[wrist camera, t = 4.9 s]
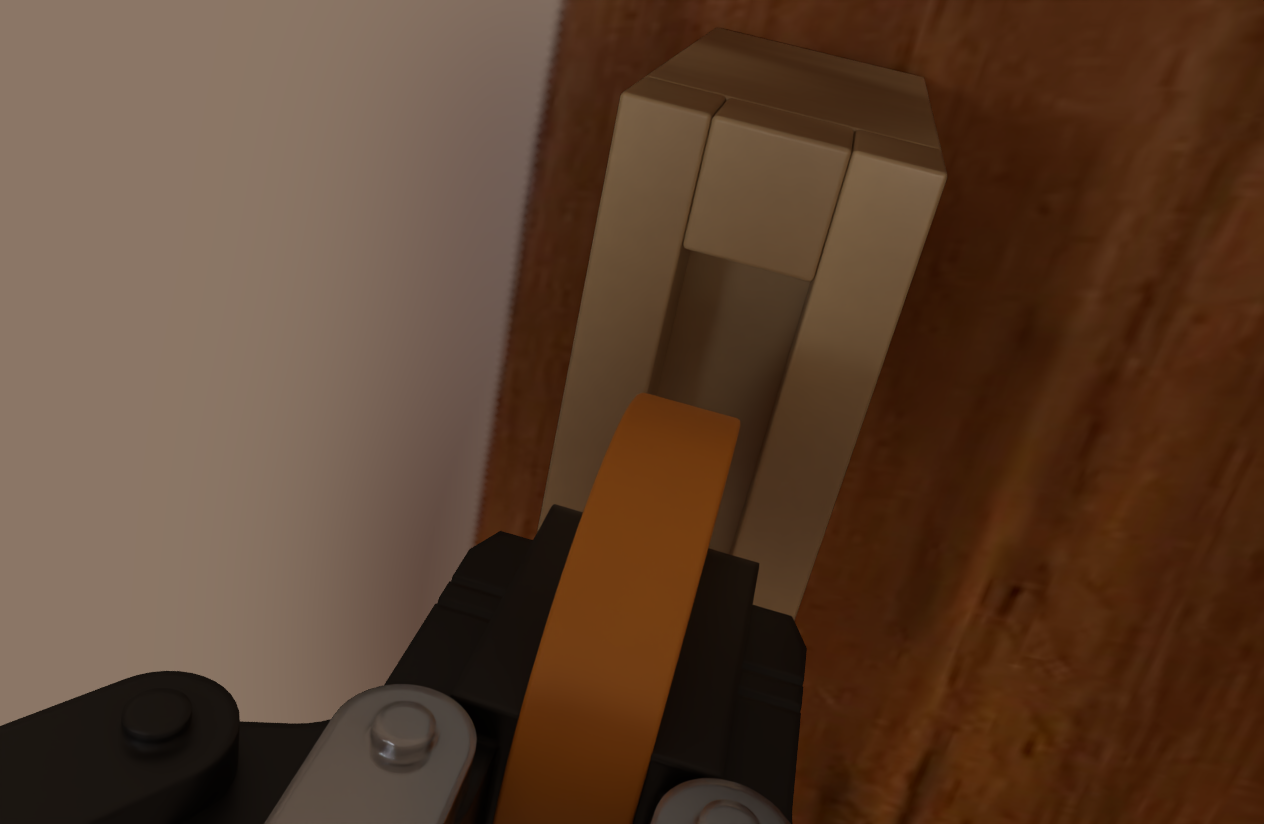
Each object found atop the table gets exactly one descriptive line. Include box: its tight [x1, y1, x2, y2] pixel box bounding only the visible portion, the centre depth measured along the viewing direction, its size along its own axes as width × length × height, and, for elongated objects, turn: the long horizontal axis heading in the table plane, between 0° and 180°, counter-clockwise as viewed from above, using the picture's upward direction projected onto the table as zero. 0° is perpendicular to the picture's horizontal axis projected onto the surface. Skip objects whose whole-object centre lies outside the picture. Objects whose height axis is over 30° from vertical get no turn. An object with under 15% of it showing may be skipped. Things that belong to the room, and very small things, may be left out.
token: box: [492, 393, 740, 824], centre depth 12 cm, size 1×6×6 cm, turn 168°
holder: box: [537, 28, 947, 621], centre depth 19 cm, size 4×10×8 cm, turn 168°
